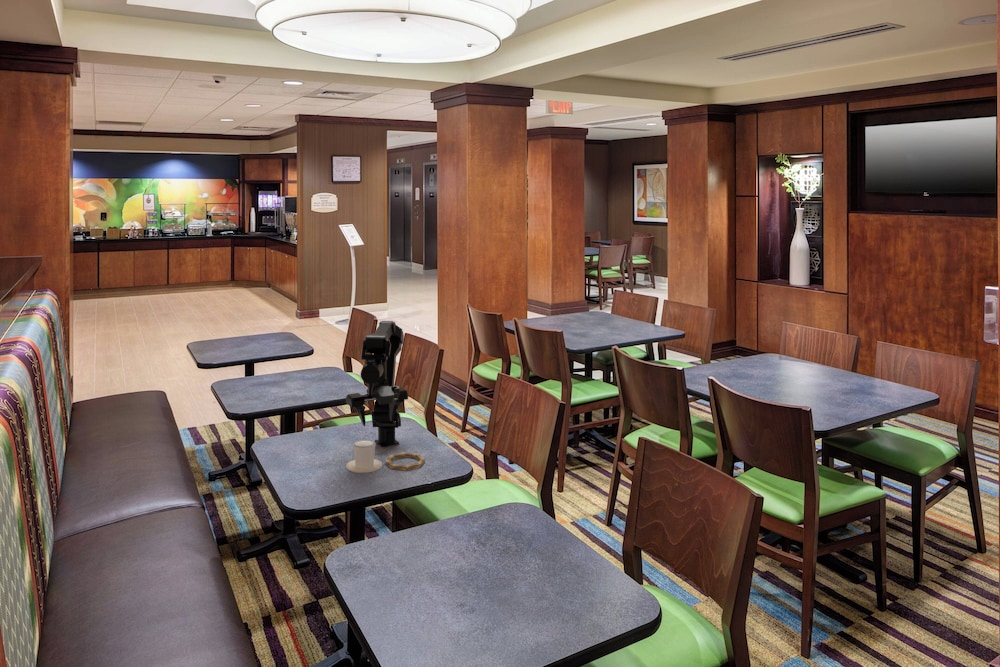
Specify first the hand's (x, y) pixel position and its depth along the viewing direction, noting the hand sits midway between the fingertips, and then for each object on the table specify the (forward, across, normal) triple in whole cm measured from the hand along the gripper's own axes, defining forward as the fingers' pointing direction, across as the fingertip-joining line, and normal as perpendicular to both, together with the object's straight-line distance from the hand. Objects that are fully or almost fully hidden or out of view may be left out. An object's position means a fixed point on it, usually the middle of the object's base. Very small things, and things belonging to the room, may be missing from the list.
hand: (377, 423), depth 225 cm
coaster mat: (+12, -6, -3) cm, 14 cm away
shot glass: (+12, -6, -3) cm, 14 cm away
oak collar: (+12, +6, -7) cm, 15 cm away
